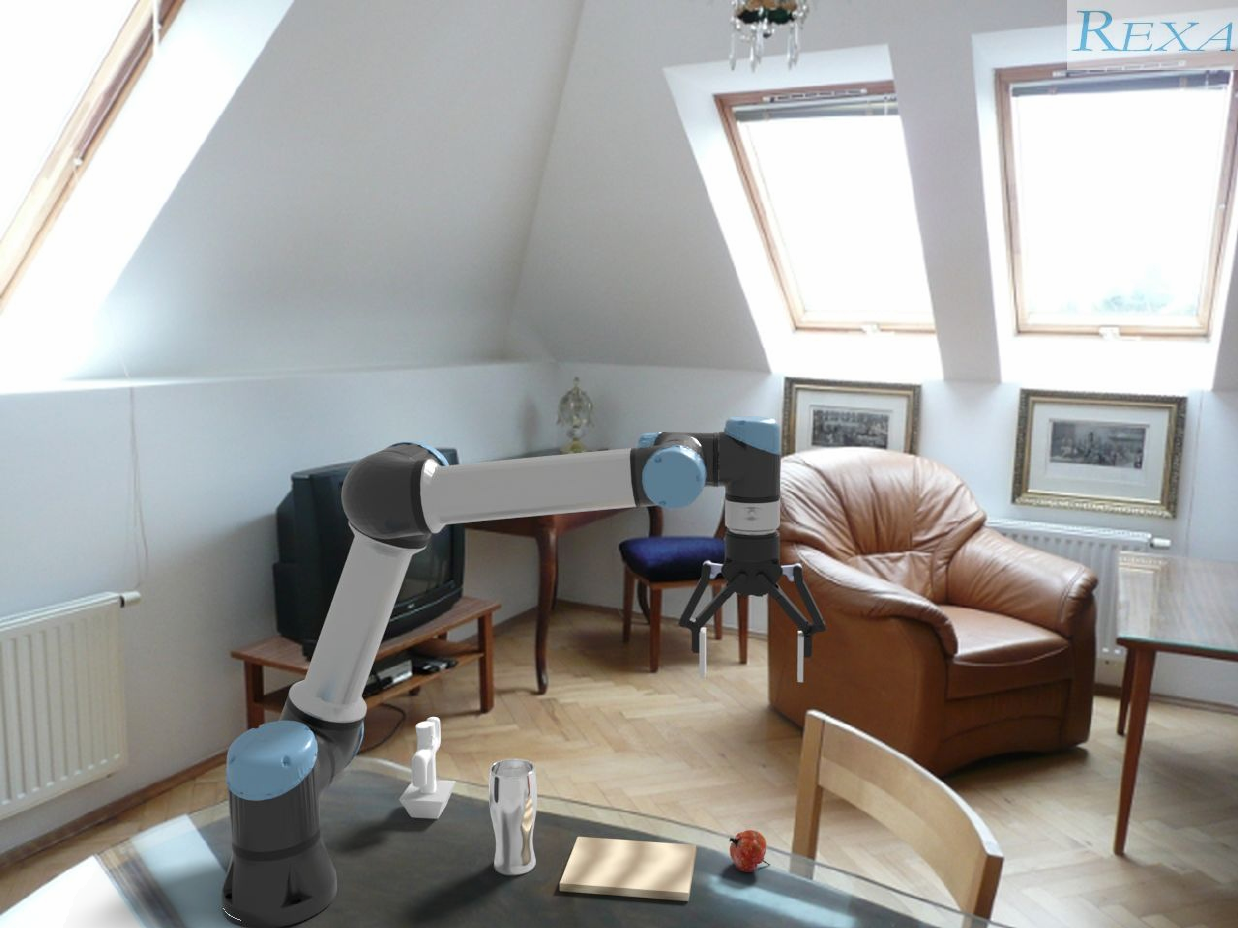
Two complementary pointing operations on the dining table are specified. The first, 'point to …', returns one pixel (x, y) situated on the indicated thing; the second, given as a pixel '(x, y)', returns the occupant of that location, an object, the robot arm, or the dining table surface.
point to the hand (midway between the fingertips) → (751, 676)
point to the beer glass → (513, 814)
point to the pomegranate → (748, 850)
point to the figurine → (426, 775)
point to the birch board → (630, 868)
